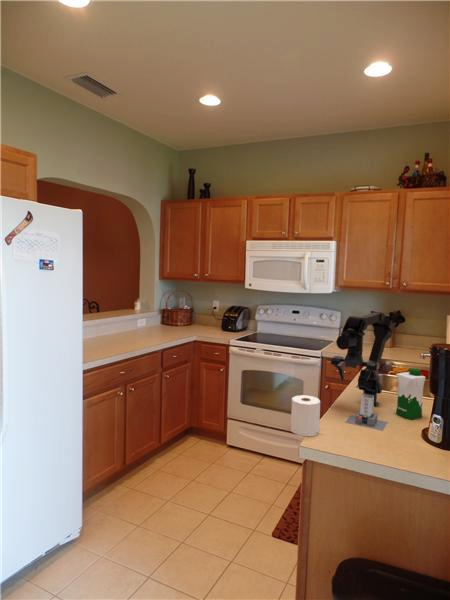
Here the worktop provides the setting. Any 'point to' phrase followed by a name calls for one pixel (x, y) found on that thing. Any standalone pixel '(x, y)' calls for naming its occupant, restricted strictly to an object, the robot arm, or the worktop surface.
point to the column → (367, 405)
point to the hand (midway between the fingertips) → (353, 383)
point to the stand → (367, 421)
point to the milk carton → (410, 394)
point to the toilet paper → (305, 415)
